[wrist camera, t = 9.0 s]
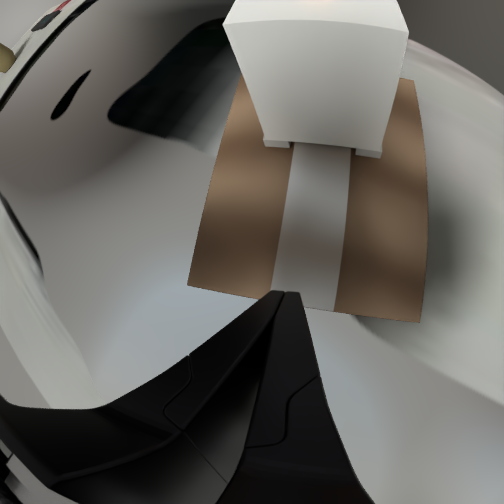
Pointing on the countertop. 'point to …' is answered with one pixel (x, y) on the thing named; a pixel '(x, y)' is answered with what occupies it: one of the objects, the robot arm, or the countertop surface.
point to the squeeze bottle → (6, 58)
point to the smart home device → (45, 21)
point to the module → (320, 68)
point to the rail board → (318, 217)
